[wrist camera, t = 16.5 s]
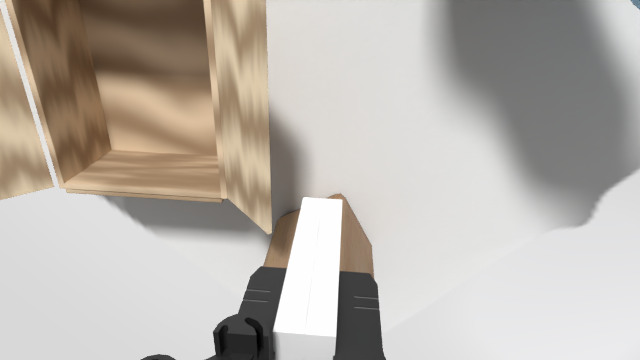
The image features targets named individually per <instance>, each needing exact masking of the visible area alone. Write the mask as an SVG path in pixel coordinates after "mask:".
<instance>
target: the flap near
mask: <svg viewBox="0 0 640 360" xmlns="http://www.w3.org/2000/svg"><path fill="white" fill-rule="evenodd" d="M211 10H212V22H213V34H214V46H215V58H216V70H217V82H218V94H219V105H220V117H221V129H222V141H223V153H224V165H225V177H226V189H227V198H228V199H229V200H230V201H231V202H232V203H233V204H235V205H236V206H237V207H238V208H239V209H240V210H241V211H242V212H244V213H245V214H246V215H247V216H248V217H249V218H250V219H251V220H252V221H254V222H255V223H256V224H257V225H258V226H259V227H260V228H261V229H263V230H264V231H265V232H266V233H267V234H271V233H272V214H271V177H270V140H269V103H268V66H267V29H266V0H211Z"/></svg>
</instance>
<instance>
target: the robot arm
mask: <svg viewBox="0 0 640 360" xmlns="http://www.w3.org/2000/svg"><path fill="white" fill-rule="evenodd" d="M631 2H632V3H633V4H634V5H635V6H636V7H637V8H638V9H639V10H640V0H631ZM341 220H342V200H341V199H325V198H309V197H303V201H302V205H301V210H300V214H299V218H298V223H297V227H296V232H295V236H294V240H293V245H292V249H291V254H290V258H289V263H288V267H287V268H277V267H263V266H261V267H260V268H259V269H258V270H257V271H256V272H255V273H254V274H253V275H252V276H251V277H250V280H249V283H248V286H247V290H246V292H245V295H244V298H243V301H242V304H241V306H240V310H239V312H238V314H236V315H233V316H230V317H227V318H226V319H224V320H223V321H222V322H220V323H219V324H218V325H217V327H216V328H215V330H214V331H213V336H214V343H215V352H216V355H214V356H212V357H210V358H208V359H206V360H386V358H385V357H384V353H383V348H382V336H381V323H380V311H379V300H378V286H377V283H376V282H375V280H374V279H373V277H372V276H371V274H370V273H361V272H347V271H339V264H340V242H341ZM141 360H175V359H174V358H172V357H170V356H168V355H160V354H158V355H153V356H147V357H145V358H143V359H141Z"/></svg>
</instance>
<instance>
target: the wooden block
mask: <svg viewBox="0 0 640 360" xmlns="http://www.w3.org/2000/svg"><path fill="white" fill-rule="evenodd" d="M325 199H341V200H342V220H341V242H340V264H339V271H347V272H361V273H370V274H371V276H372V277H373V279H374V273H373V259H372V245H371V243H370V242H369V240H368V238H367V236H366V234H365V233H364V231H363V229H362V227H361V225H360V223H359V222H358V220H357V218H356V216H355V214H354V213H353V211H352V209H351V207H350V205H349V204H348V202H347V200H346V198H345V197H344V196H343V195H342V194H335V195H333V196H330V197H328V198H325ZM300 210H301V209H299V210H297V211H294V212H292V213H290V214H287V215H285V216H283V217H281V218H280V219H279V220H278V221H277V224H276V227H275V230H274V233H273V236H272V240H271V243H270V246H269V249H268V253H267V256H266V259H265V262H264V265H263V267H277V268H287V267H288V263H289V258H290V254H291V249H292V245H293V240H294V236H295V232H296V227H297V223H298V218H299V214H300Z"/></svg>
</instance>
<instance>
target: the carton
mask: <svg viewBox="0 0 640 360" xmlns="http://www.w3.org/2000/svg"><path fill="white" fill-rule="evenodd" d="M5 3H6V6H7V10H8V13H9V16H10V20H11V23H12V27H13V30H14V33H15V37H16V40H17V44H18V47H19V50H20V54H21V57H22V61H23V64H24V67H25V71H26V74H27V78H28V81H29V84H30V88H31V91H32V95H33V98H34V101H35V105H36V108H37V111H38V115H39V118H40V122H41V125H42V128H43V132H44V135H45V139H46V142H47V145H48V149H49V152H50V156H51V159H52V162H53V166H54V169H55V173H56V176H57V179H58V183H59V186H60V188H64V189H66V192H67V193H79V194H95V195H110V196H126V197H141V198H157V199H172V200H188V201H204V202H219V203H222V201H223V200H224V199H227V189H226V177H225V165H224V153H223V141H222V129H221V117H220V105H219V94H218V82H217V70H216V58H215V46H214V34H213V22H212V10H211V0H5Z"/></svg>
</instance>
